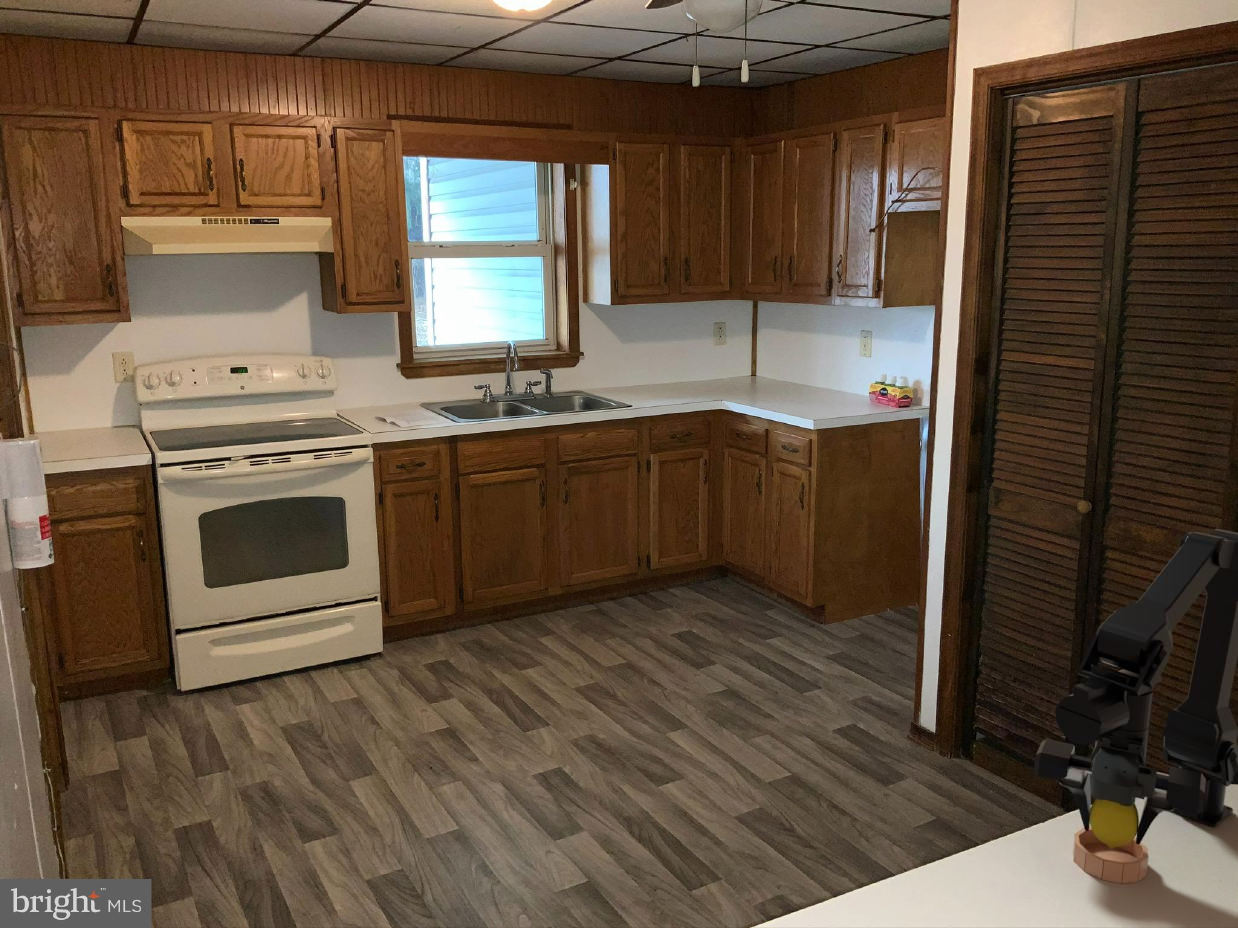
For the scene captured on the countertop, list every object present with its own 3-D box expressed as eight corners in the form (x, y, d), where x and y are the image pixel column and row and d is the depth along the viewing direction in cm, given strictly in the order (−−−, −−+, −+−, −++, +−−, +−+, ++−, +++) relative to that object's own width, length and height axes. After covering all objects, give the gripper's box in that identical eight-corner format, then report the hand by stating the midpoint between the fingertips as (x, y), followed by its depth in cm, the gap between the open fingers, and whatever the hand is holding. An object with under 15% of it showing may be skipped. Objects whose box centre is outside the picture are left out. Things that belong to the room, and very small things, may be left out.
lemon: (1141, 862, 124) (1147, 803, 122) (1093, 857, 125) (1098, 798, 123) (1128, 837, 129) (1134, 780, 127) (1082, 833, 130) (1087, 776, 129)
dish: (1092, 837, 133) (1094, 819, 132) (1157, 865, 127) (1159, 847, 126) (1060, 859, 128) (1062, 842, 127) (1126, 890, 122) (1128, 872, 121)
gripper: (1031, 728, 122) (1021, 845, 125) (1208, 767, 112) (1194, 893, 115) (1046, 695, 131) (1037, 804, 134) (1211, 728, 121) (1198, 845, 124)
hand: (1112, 835), depth 127 cm, fingers closed on lemon, 5 cm apart
